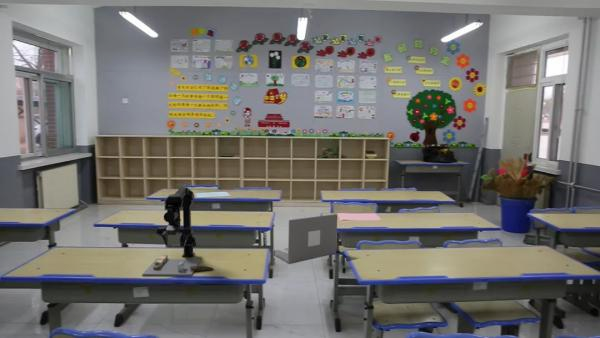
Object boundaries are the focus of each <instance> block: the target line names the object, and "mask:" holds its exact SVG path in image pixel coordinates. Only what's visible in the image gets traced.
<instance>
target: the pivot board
mask: <svg viewBox="0 0 600 338" xmlns="http://www.w3.org/2000/svg"><path fill="white" fill-rule="evenodd" d="M158 260H159V258H156V259H154V260H153V262H152V263H151V264H150V265H149V266H148V268H146V269H145V271H143V273H142V277H192V276H193V275H194V273H195V272H196V270H192V269H190V266H199V264H200V262H201V260H202V258H168V259H167V260H166V261H165V262H164V263H163V265H162V266H161V268H159V269H153V264H154V263H155V262H157V261H158ZM180 262H186V263H185V264H184V271H178V264H179V263H180Z"/></svg>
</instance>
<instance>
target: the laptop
mask: <svg viewBox="0 0 600 338" xmlns="http://www.w3.org/2000/svg"><path fill="white" fill-rule="evenodd" d="M337 238H338V214H337V213H333V214H332V213H331V214H327V215H325V214H324V215H319V216H318V215H317V216H311V217H310V216H309V217H303V218H294V219H289V220H288V240H287V241H288V242H287V243H288V244H287V245H288V247H287V248H284V250H285V251H282V250H279V249H276V250H273V256H274V257H276V258H277V259H279V260H281V261H282V262H284V263H286V264H288V265H292V264H296V263H301V262H305V261H309V260H313V259H318V258H323V257H327V256H332V255H336V254H337V245H338V244H337V240H338V239H337ZM286 251H287V252H286Z"/></svg>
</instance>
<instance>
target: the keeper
mask: <svg viewBox="0 0 600 338" xmlns="http://www.w3.org/2000/svg"><path fill="white" fill-rule="evenodd" d="M185 263H186V262H180V263H179V264H178V271H184V264H185Z"/></svg>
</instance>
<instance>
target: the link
mask: <svg viewBox="0 0 600 338" xmlns="http://www.w3.org/2000/svg"><path fill="white" fill-rule="evenodd" d="M158 259H159V260H158V261H157V262H155V263H154V264H153V269H159V268H161V266H162V265H163V263H164V262H165V261H166V260H167V259H169V257H168V255H167V254H162V255H161V256H160V257H159V258H158Z"/></svg>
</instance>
